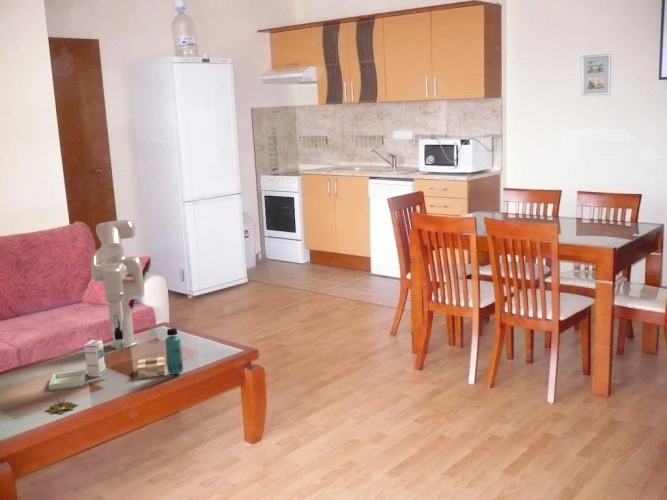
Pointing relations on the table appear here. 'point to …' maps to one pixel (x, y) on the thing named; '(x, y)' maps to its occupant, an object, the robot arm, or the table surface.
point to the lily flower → (60, 405)
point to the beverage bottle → (173, 352)
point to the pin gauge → (120, 342)
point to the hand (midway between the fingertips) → (119, 337)
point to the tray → (67, 380)
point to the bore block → (151, 367)
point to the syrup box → (95, 358)
